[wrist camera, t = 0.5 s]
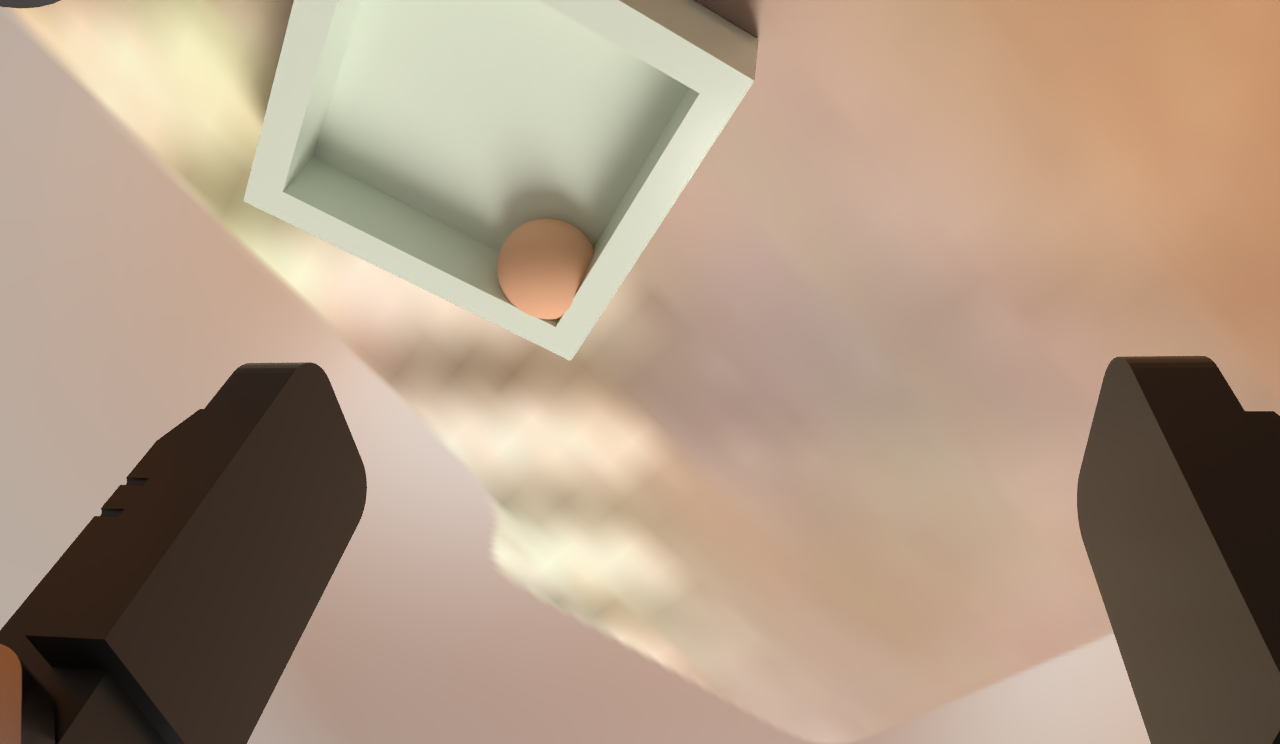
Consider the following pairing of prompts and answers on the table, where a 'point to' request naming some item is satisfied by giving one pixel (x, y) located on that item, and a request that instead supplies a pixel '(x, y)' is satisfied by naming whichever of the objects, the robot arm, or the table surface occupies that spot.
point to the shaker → (26, 3)
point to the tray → (494, 134)
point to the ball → (543, 266)
